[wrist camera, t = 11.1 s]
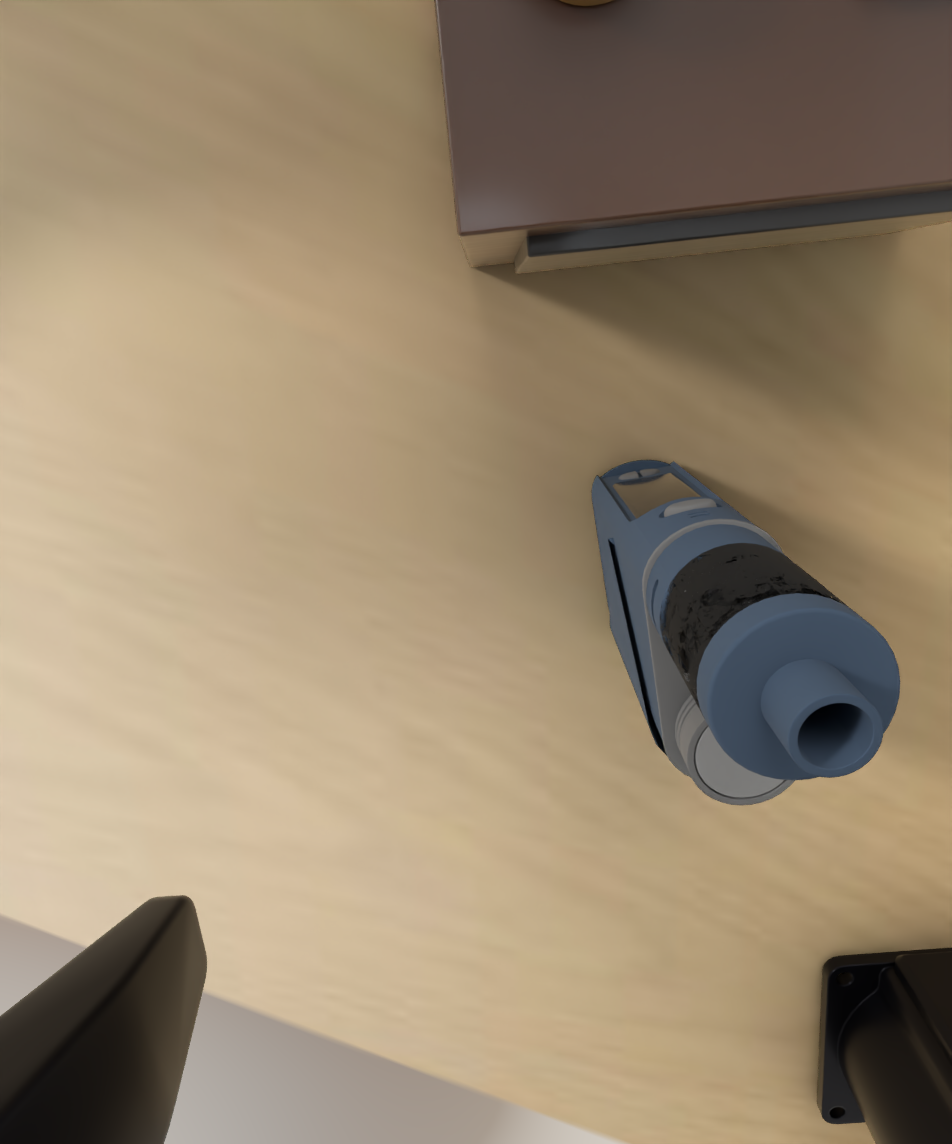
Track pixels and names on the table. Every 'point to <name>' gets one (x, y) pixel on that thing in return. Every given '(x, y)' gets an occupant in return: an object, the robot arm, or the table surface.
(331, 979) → the table surface
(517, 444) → the table surface
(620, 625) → the vaping device
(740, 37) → the radio
